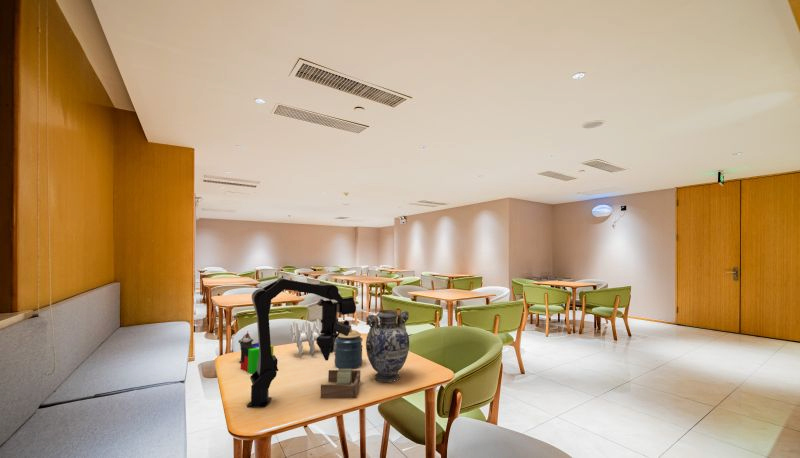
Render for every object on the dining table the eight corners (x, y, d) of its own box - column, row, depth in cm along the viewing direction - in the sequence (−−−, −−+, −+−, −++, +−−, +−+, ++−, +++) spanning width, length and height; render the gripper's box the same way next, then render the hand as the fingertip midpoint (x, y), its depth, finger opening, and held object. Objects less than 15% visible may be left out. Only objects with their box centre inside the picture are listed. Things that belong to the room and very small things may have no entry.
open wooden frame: (356, 398, 123) (356, 385, 123) (320, 398, 123) (320, 385, 123) (360, 381, 139) (360, 370, 139) (328, 381, 139) (329, 370, 139)
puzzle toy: (261, 363, 160) (262, 341, 161) (272, 368, 154) (273, 345, 154) (240, 368, 152) (241, 346, 153) (251, 374, 146) (252, 350, 147)
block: (349, 392, 128) (350, 373, 129) (336, 392, 128) (337, 373, 129) (351, 386, 133) (351, 368, 134) (338, 386, 133) (339, 368, 134)
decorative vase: (376, 390, 130) (377, 316, 132) (355, 376, 145) (356, 310, 147) (420, 379, 141) (420, 312, 144) (396, 367, 157) (397, 306, 159)
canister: (365, 367, 155) (366, 328, 156) (337, 371, 150) (338, 331, 151) (358, 359, 167) (359, 323, 168) (332, 362, 162) (333, 325, 164)
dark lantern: (247, 364, 158) (248, 332, 159) (234, 363, 159) (235, 331, 160) (255, 360, 164) (257, 328, 165) (243, 359, 166) (244, 328, 167)
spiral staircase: (340, 360, 178) (292, 364, 166) (332, 338, 193) (287, 341, 181) (348, 331, 173) (298, 334, 161) (339, 311, 187) (293, 312, 175)
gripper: (346, 321, 124) (346, 364, 123) (352, 311, 142) (352, 349, 141) (316, 321, 123) (315, 364, 122) (325, 311, 142) (325, 349, 141)
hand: (328, 356), depth 132 cm, fingers open, 9 cm apart
